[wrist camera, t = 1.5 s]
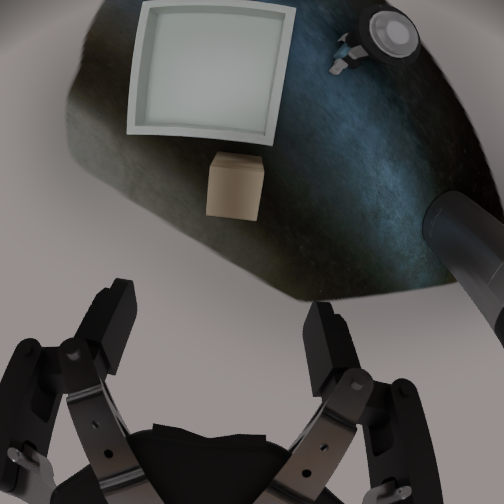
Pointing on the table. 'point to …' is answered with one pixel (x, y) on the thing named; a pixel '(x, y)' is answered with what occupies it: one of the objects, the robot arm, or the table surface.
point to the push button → (379, 39)
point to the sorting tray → (209, 69)
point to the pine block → (235, 186)
